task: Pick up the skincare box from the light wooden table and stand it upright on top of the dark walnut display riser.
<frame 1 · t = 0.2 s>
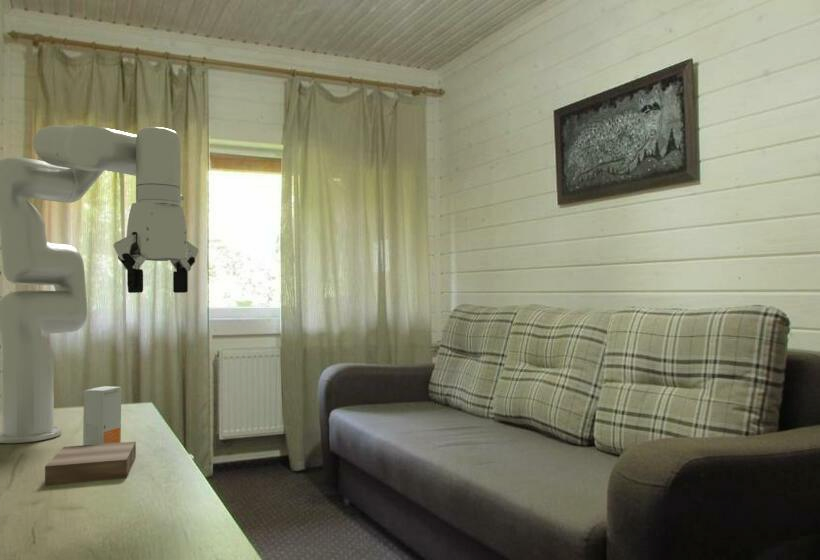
hand: (158, 292, 114), 31 cm above the table, tool pointing down, fingers open, 9 cm apart
skincare box: (102, 449, 126), on the table
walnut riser: (93, 470, 110), on the table
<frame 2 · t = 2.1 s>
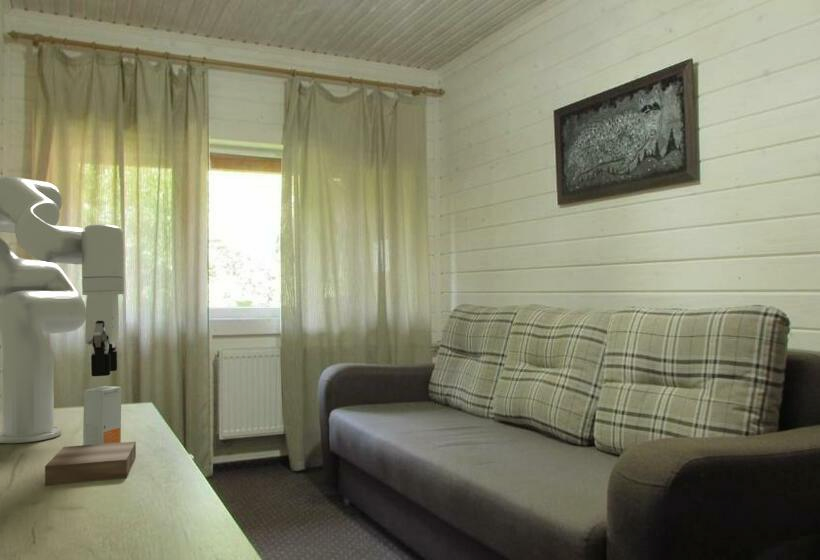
hand: (104, 373, 126), 15 cm above the table, tool pointing down, fingers open, 9 cm apart
nothing on the table moved.
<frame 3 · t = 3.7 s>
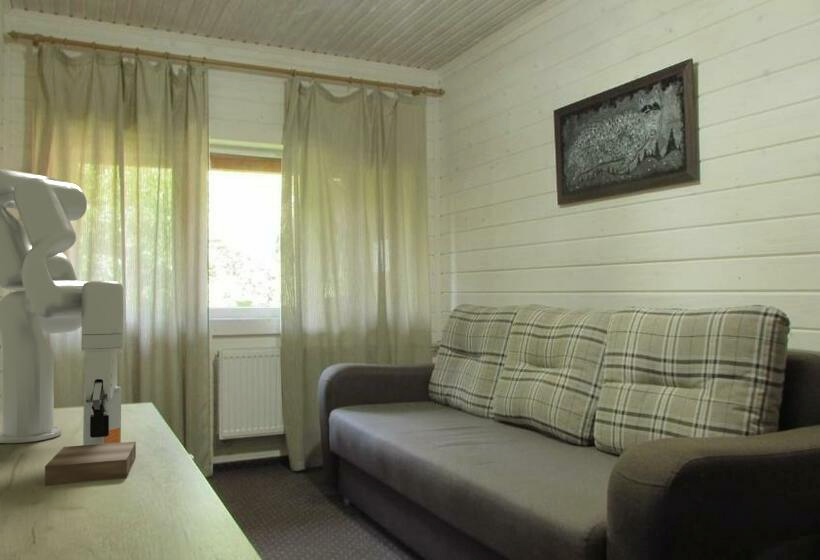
hand: (102, 431, 126), 3 cm above the table, tool pointing down, fingers closed on skincare box, 7 cm apart
skincare box: (102, 449, 126), on the table, touching gripper
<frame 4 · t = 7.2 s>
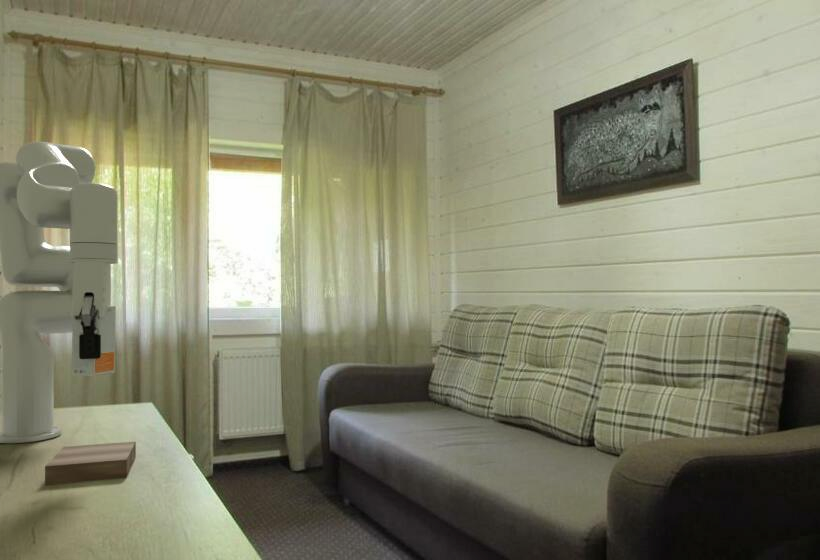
hand: (93, 355, 111), 20 cm above the table, tool pointing down, fingers closed on skincare box, 7 cm apart
skincare box: (94, 375, 111), point 16 cm above the table, touching gripper
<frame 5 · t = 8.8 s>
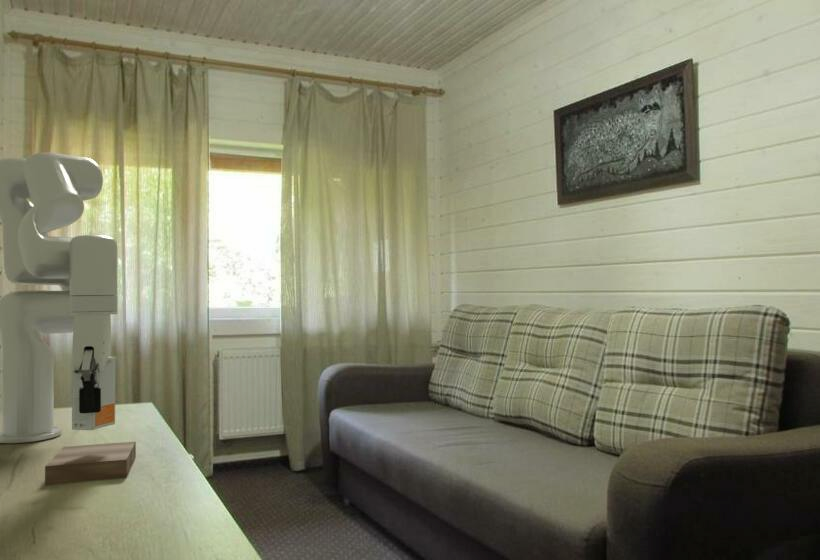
hand: (94, 408, 110), 11 cm above the table, tool pointing down, fingers closed on skincare box, 7 cm apart
skincare box: (94, 428, 110), point 7 cm above the table, touching gripper
when the fingers open (8 cm above the table, at t = 10.4 s): skincare box drops 1 cm, resting on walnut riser.
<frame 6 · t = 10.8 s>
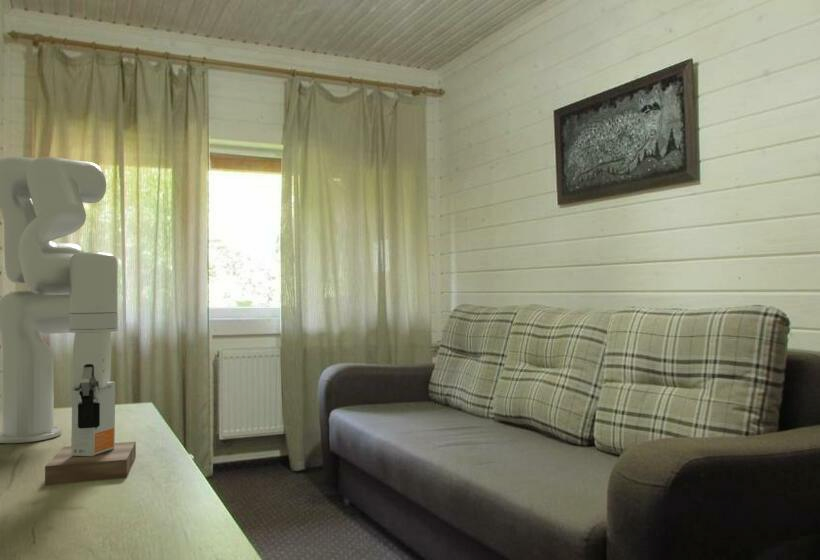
hand: (93, 422, 110), 8 cm above the table, tool pointing down, fingers open, 9 cm apart
skincare box: (93, 453, 110), point 3 cm above the table, touching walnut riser
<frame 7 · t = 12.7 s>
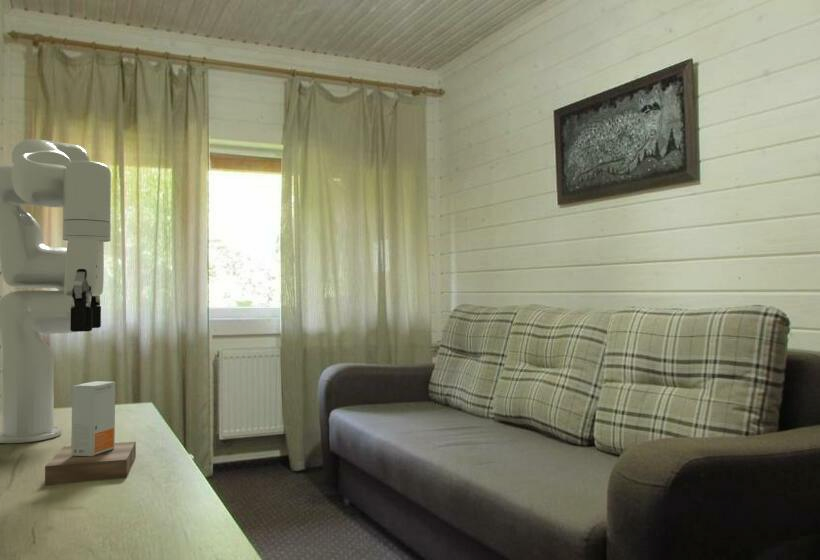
hand: (86, 329, 112), 24 cm above the table, tool pointing down, fingers open, 9 cm apart
nothing on the table moved.
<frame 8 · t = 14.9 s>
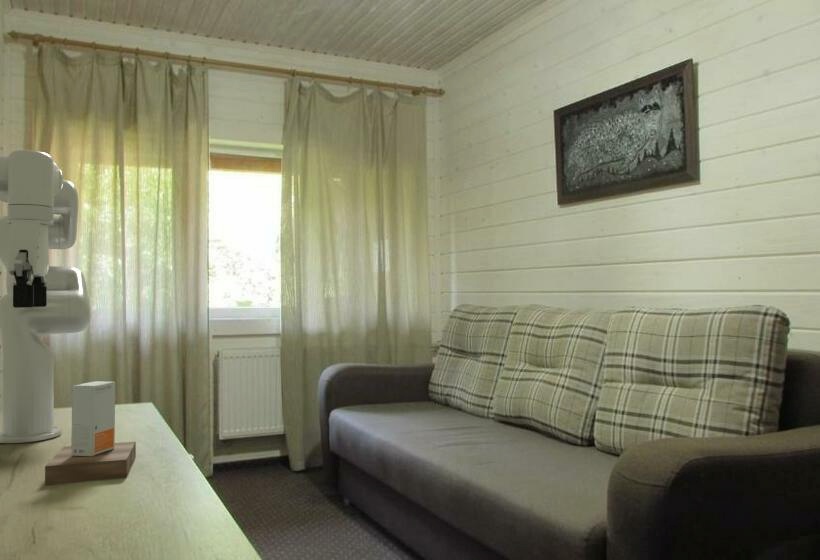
hand: (30, 307, 120), 28 cm above the table, tool pointing down, fingers open, 9 cm apart
nothing on the table moved.
at the end: skincare box inside the target area on the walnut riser (0.3 cm from its centre), point 2.8 cm above the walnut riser's base; skincare box tilted 0°; the gripper is holding nothing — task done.
